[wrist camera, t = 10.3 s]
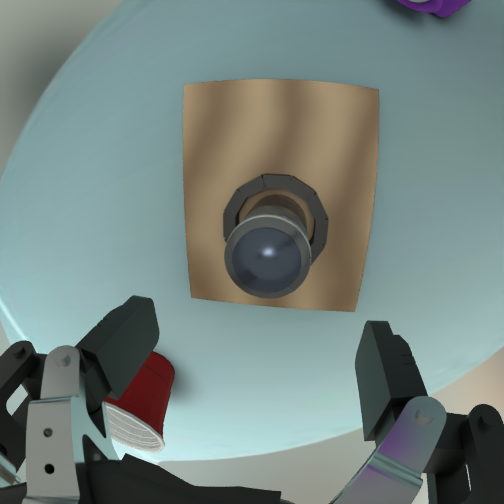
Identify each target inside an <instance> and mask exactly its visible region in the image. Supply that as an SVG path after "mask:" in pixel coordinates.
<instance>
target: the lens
mask: <svg viewBox="0 0 504 504" xmlns="http://www.w3.org/2000/svg"><path fill="white" fill-rule="evenodd" d="M224 261H225V266H226V270H227V272H228V274H229V276H230V278H231V279H232V281H233V282H234V283H235V284H236V285H237V286H238V287H239V288H240V289H242V290H243V291H244V292H246V293H248V294H250V295H253V296H255V297H259V298H266V299H272V298H279V297H283V296H286V295H288V294H290V293H292V292H293V291H295V290H296V289H297V288H299V287H300V285H301V284H302V283H303V282H304V280H305V279H306V277H307V275H308V272H309V269H310V266H311V249H310V244H309V240H308V231H307V223H306V217H305V213H304V211H303V209H302V208H301V206H300V205H299V204H298V203H297V202H296V201H295V200H293V199H292V198H290V197H288V196H285V195H279V194H274V195H269V196H266V197H263V198H262V199H260V200H259V201H258V202H257V203H256V204H255V205H254V206H253V207H252V209H251V210H250V211H249V212H248V214H247V215H246V216H245V218H244V219H243V220H242V221H241V223H240V224H239V225H238V226H237V227H236V228H235V229H234V230H233V232H232V233H231V235H230V236H229V238H228V240H227V243H226V247H225V252H224Z"/></svg>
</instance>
